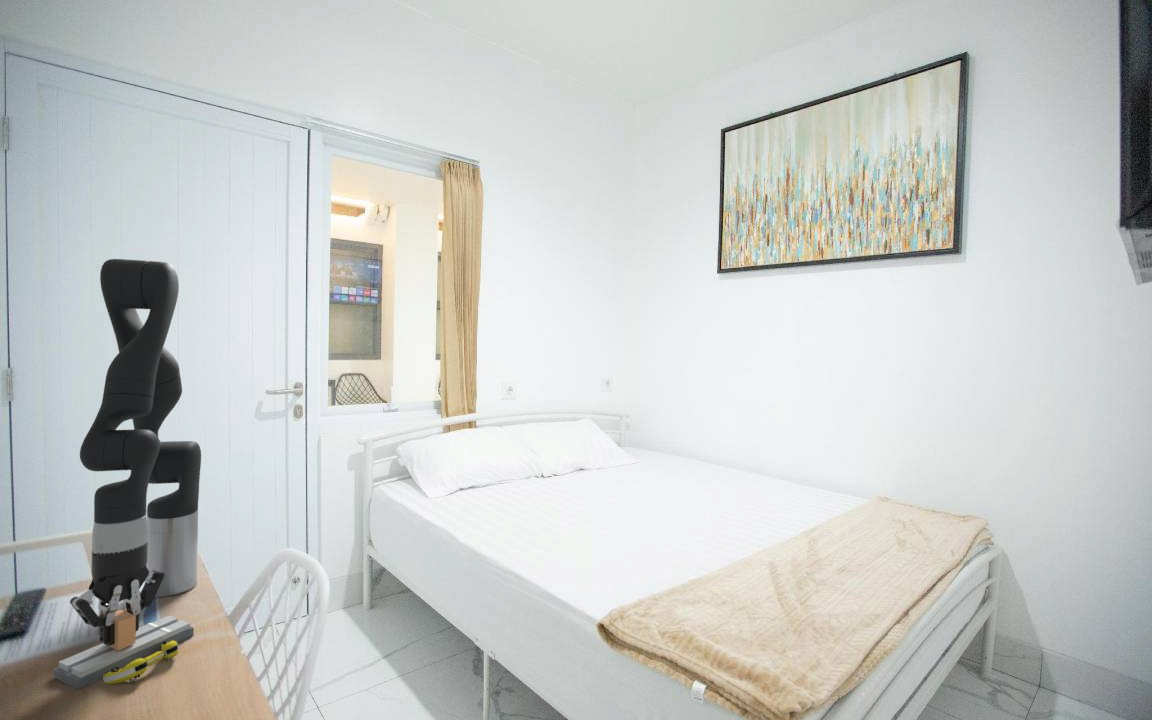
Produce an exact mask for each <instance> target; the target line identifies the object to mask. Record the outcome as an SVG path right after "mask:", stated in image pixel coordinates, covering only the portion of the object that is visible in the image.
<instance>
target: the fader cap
mask: <svg viewBox="0 0 1152 720" xmlns="http://www.w3.org/2000/svg"><path fill="white" fill-rule="evenodd" d="M113 624H115V643H114V644H113V645H111V646H109V647H111V648H113V650H114V649H116V650H121V649H123V648H125V647H128V646H130V645H132V644H134V643H135V634H136V615H133V614H131V613H128V612H126V611H125V610H122V609H118V610H117V611H116V612H115V617H114V622H113ZM103 644H104V643H103ZM104 645H105V644H104Z"/></svg>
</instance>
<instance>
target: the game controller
mask: <svg viewBox="0 0 1152 720" xmlns="http://www.w3.org/2000/svg"><path fill="white" fill-rule="evenodd" d="M161 646H162V648H161V649H162V650H161V651H158V652H156V653H154V654H152V655H150V656H148V657H146V658H144V659H143V658H139V659H136V660H134V661H132V662H131V663H129V664H128V665H126V666H125V667H124V668H122V669H119V668H118V667H114V668H117V670H115V671H113V668H112V669H111V672H109V673H107V674H105V675H104V676H103V678H102V679H103V683H104V684H108V685H109V684H110V685H113V684H114V685H116V684H120V683H123V682H126V683H128V684H131V683H133V682H135V681H136V679H137V678H140V677H141V676H142V675H143V674H145V673H146V672H147V669H148V668H149V667H150V666H152V665H155V664H156V663H157V662H159V661H161V660H162V659H163V658H165V659H167V661H168V662H170V661H173V660H174V657H176V656H177V655H178V653H179V651H180V650H179V649H180V648H179V646H178V643H177V642H176V641H170V642H168V643H166V641H164V642H163V644H162V645H161Z"/></svg>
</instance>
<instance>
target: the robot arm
mask: <svg viewBox="0 0 1152 720" xmlns="http://www.w3.org/2000/svg"><path fill="white" fill-rule="evenodd" d="M99 274H100V275H99V281H100V289H101V292H102V297H103V300H104V303H105V304H104V305H105V307H106V310H107V313H108V314H107V315H108V316H109V320H110V322H111V326H112V329H113V332H114V335H115V340H116V344H117V348H118V353H117V354H116V356H115V357H114V358H113V360H112V361H111V363H110V365H109V366H108V369H107V371H106V376H105V381H104V387H103V393H102V401H101V404H100V407H99V410H98V411H97V414H96V416H95V419H94V421H93V422H92V425H91V427H90V428H89V430H88V432H87V433H86V435H85V437H84V439H83V440H82V444H81V445H80V446H81V447H80V450H79V459H80V460H79V461H80V462H81V464H82V465H83V467H84V468H85V469H87V470H88V471H91V472H112V471H113V472H115V471H117V472H118V471H130V474H129V477H128V478H127V479H124V480H121V481H116V482H112V483H108V484H107V483H106V484H105V485H102V486H100V487H99V488H97V489H96V490H95V494H94V499H93V511H94V513H93V514H94V516H93V528H92V533H91V577H92V579H91V582H90V584H89V586H88V590H87V591H86V592H84V593H82V594H81V595H80V596H74V597H72V598H71V599H70V601H69V604H70V605H71V606H72V608H73V609H74V610H75V611H76V613H77V615H79V617H80V618H81V619H82V621H83V622H84V623H85V624H86V625H89V626H92V628H93V627H94V628H99V631H98V632H99V639H98V640H99V642H100V644H102V643H104V644H105V645H107V646H111V645H113V644H114V643H115V624H113V622H114V617H115V612H116V611H118V610H119V604H120V602H121V601H122V602H123V604H124V605H123V606H124V611H126V612H128V613H131V614H133V615H136V631H138V629H139V628H140V613H141V612H142V610H144V609H145V608H149V607H150V606H151V605H152V604H153V602H154V600H155V597H157V598H159V597H161V598H163V597H169V596H174V595H179V594H181V593H185V592H187V591H190V590H191V589H193V588H195V586H197V583H198V549H199V548H198V543H199V542H198V541H199V540H198V538H199V537H198V535H199V533H198V531H199V497H200V496H199V495H200V480H201V479H200V477H201V476H200V475H201V465H202V451H201V446H200V444H199V443H198V442H196V441H193V440H192V441H191V440H186V441H184V440H181V441H180V440H179V441H176V440H175V441H174V440H173V441H171V440H170V441H161V440H160V439H159V430H160V429H161V426H162V425H163V423H164V421H165V420H166V418H167V417H168V416H169V415H170V413H172V410H173V409H174V408H175V407H176V405H177V404H178V402H179V401H180V399H181V396H182V393H183V384H182V378H181V372H180V366H179V363H178V361H177V359H176V358H175V356H174V355H173V354H172V353H171V352H170V351H169V350H168V349H167V348H166V347H165V343H166V340H167V337H168V334H169V330H170V327H171V323H172V320H173V316H174V313H175V309H176V305H177V302H178V297H179V296H178V295H179V289H180V288H179V287H180V286H179V285H180V284H179V277H178V274H177V271H176V269H175V267H174V266H173V265H172V264H171V263H169V262H165V261H158V260H157V261H153V260H141V259H139V260H138V259H123V258H110V259H108V260H105V262H103V264H102V266H101V267H100V273H99ZM137 310H149V312H148V313H149V314H148V316H147V319H146V320H145V323H144V324H143V321H142V320H141V318H140V316H139V314H138V312H137ZM129 420H132V423H133V429H117V428H119V426H120V425H121V424H122V423H124V422H126V421H129ZM149 484H150V485H151V484H152V485H153V484H154V485H157V484H158V485H159V484H178V489H176V490H175V491H172V492H171V493H169V494H165V495H162V496H159V497H157V498H155V499H153V500H151V501H150V502H149V503H148V504H147V493H148V486H149ZM143 584H144V585H143ZM142 586H143V587H142ZM141 587H142V589H141ZM140 589H141V590H140ZM93 597H96V598H97V599H98V605H97V607H98V608H97V609H98V614H97V613H96V612H95V609H93V607H92V605H93V602H94V601H93ZM135 635H136V634H135Z"/></svg>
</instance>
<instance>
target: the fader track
mask: <svg viewBox="0 0 1152 720" xmlns="http://www.w3.org/2000/svg"><path fill="white" fill-rule="evenodd" d="M193 636H194V627H193V626H191V623H190V622H187V621H185V620H179V621H178V618H177V617H174V616H171V615H167V616H164V617H162V618H160V619H157V620H154V621H152V622H149V623H147V624H146V625H143V626H139V629H138V631H136V635H135V643H134V644H132V645H130V646H128V647H125V648H123V649H121V650H116V649H114V650H113V648H111V647H109V646H107V645H104V644H103V643H99V644H97V645H95V646H93V647H91V648H88V649H86V650H83V651H81V652H78V653H76V654H74V655H71V656H69V657H67V658H65V659H64V658H63V659H62V660H59V661H58V666H57V667H55V668H53V678H54V679H56V680H59V682H62V683H64V684H66V685H68V686H70V687H72V688H74V689H75V690H79V689H82V688H85V687H86V686H88V685H90V684H92V683H93V684H94V682H97V681H99V680H101V679H103V676H104V675H105V674H107V673H109V672H111V669H112V668H113V671H115V670H117V668H114V667H118V668H119V669H122V668H124V667H125V666H126V665H128V664H129V663H131V662H132V661H134V660H136V659H139V658H143V659H145V658H146V657H148V656H150V655H152V654H154V653H156V652H158V651H162V649H161V648H162V646H161V645H162V644H163V642H164V641H166V643H168V642H170V641H176V642H177V644H178V643H180V642H182V641H185V640H187V639H189V638H190V637H191V638H192V637H193Z"/></svg>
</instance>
